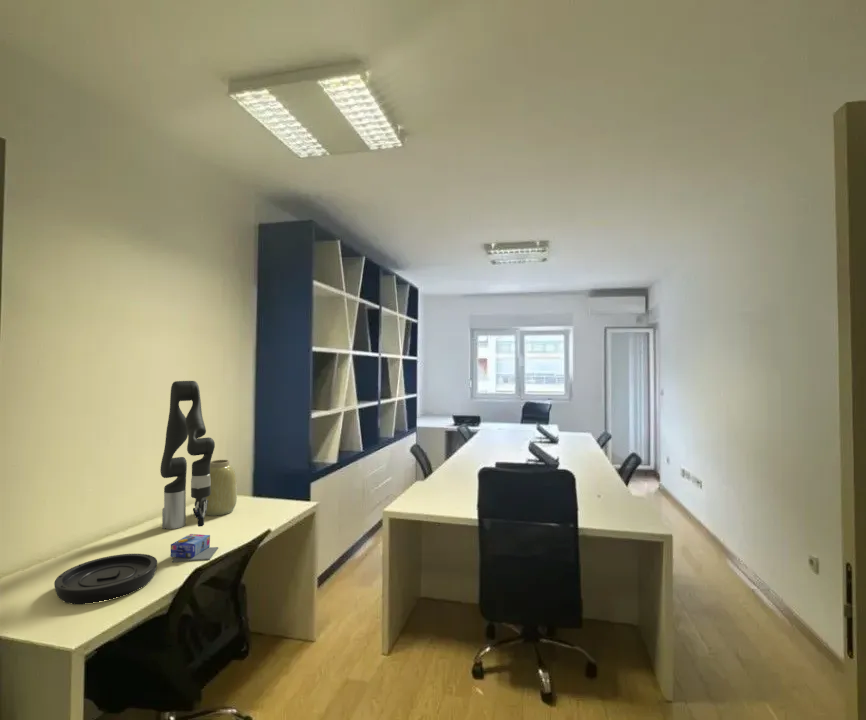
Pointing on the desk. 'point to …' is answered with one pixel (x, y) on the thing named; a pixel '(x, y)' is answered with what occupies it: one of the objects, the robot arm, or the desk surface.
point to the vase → (222, 488)
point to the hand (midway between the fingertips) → (200, 525)
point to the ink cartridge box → (190, 545)
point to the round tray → (105, 578)
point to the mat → (201, 556)
